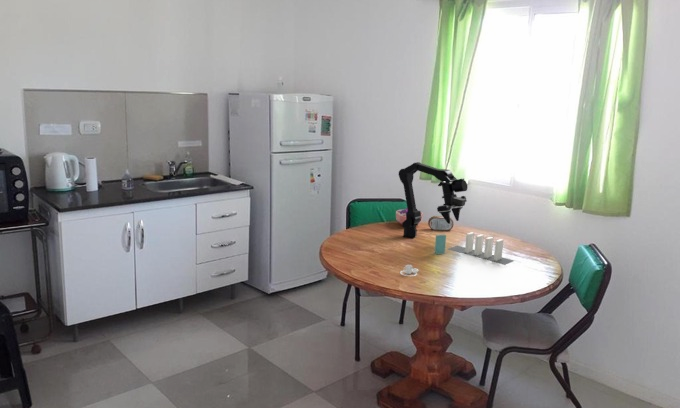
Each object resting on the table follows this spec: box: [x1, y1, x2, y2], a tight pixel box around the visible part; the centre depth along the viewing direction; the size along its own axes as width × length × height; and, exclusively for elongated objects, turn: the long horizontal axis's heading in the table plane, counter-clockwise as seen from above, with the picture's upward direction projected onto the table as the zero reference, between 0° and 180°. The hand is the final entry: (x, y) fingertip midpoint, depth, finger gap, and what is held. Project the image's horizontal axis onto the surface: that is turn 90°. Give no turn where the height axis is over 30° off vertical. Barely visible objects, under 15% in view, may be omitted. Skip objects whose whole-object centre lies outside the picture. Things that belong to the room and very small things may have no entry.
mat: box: [447, 245, 515, 266], centre depth 269 cm, size 33×10×1 cm, turn 46°
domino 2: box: [474, 234, 485, 255], centre depth 269 cm, size 2×5×10 cm, turn 136°
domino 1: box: [464, 231, 475, 253], centre depth 272 cm, size 2×5×10 cm, turn 136°
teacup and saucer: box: [399, 264, 419, 277], centre depth 239 cm, size 9×8×4 cm
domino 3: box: [483, 236, 494, 258], centre depth 265 cm, size 2×5×10 cm, turn 135°
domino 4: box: [493, 238, 504, 261], centre depth 261 cm, size 2×5×10 cm, turn 136°
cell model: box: [395, 207, 424, 225], centre depth 323 cm, size 17×20×11 cm
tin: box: [427, 215, 454, 232], centre depth 316 cm, size 15×3×8 cm, turn 84°
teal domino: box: [434, 234, 447, 255], centre depth 269 cm, size 2×5×10 cm, turn 111°
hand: (453, 222), depth 280 cm, fingers open, 9 cm apart
